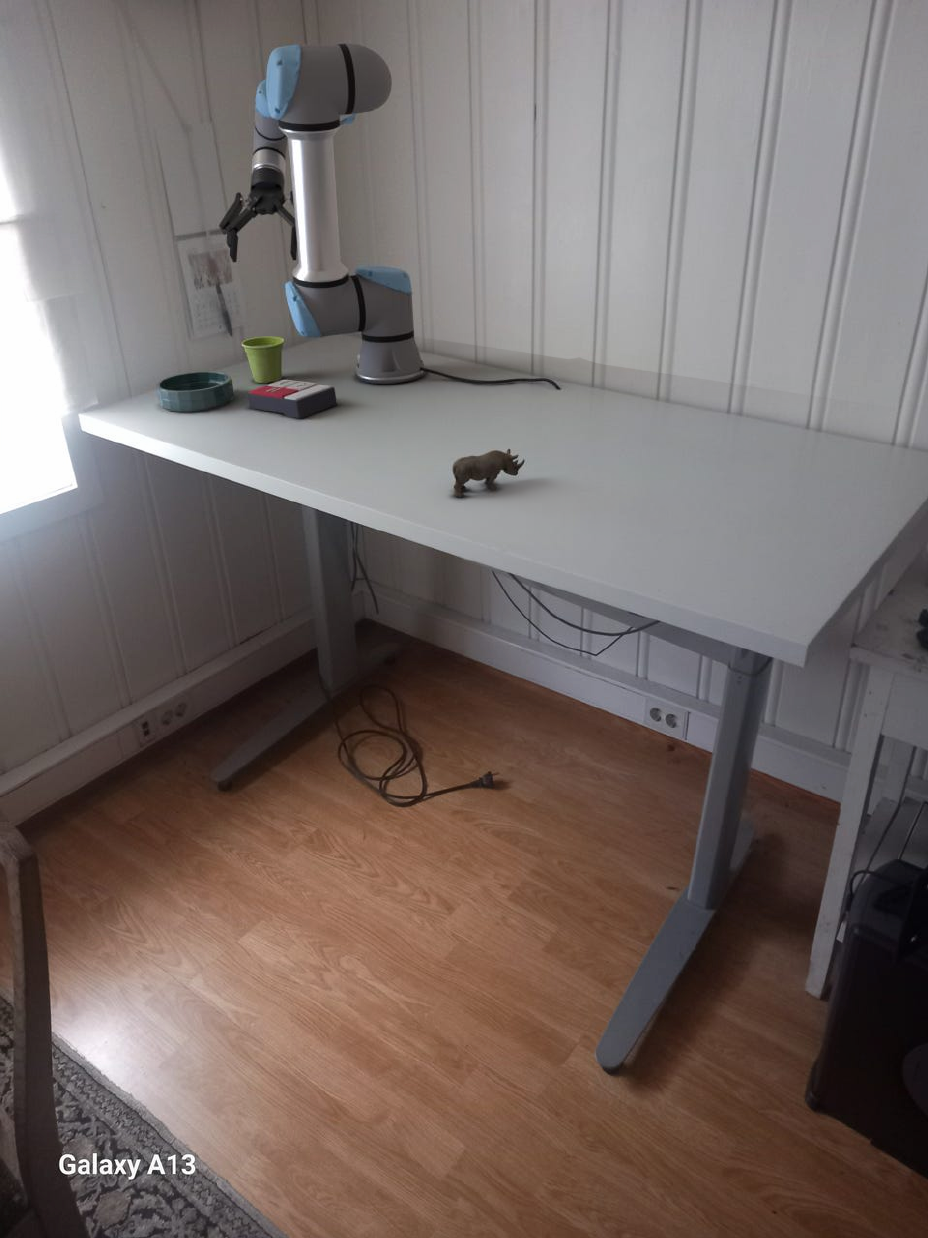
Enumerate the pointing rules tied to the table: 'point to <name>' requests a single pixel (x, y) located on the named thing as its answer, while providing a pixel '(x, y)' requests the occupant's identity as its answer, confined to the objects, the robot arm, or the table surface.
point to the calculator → (292, 398)
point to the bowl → (195, 391)
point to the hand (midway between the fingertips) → (263, 257)
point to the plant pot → (265, 358)
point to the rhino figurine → (484, 469)
